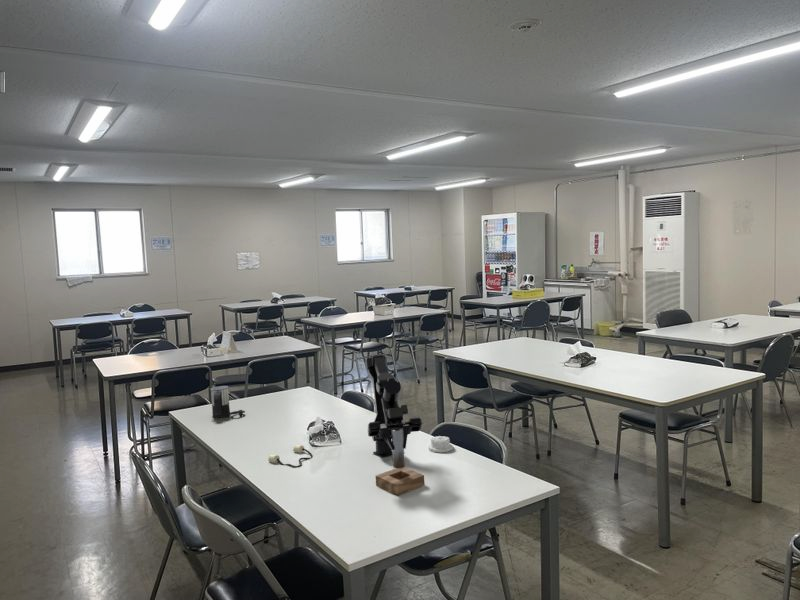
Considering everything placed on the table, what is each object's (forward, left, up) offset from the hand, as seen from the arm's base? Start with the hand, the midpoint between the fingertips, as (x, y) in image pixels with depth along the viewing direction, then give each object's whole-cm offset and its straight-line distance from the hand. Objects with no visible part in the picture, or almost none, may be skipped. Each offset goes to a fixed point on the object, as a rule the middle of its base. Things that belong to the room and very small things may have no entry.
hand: (398, 449), depth 198 cm
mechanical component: (-18, +35, -14) cm, 42 cm away
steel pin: (-1, +1, -7) cm, 7 cm away
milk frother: (-135, -6, -14) cm, 136 cm away
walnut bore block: (-1, +1, -13) cm, 13 cm away
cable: (-52, -12, -14) cm, 55 cm away
